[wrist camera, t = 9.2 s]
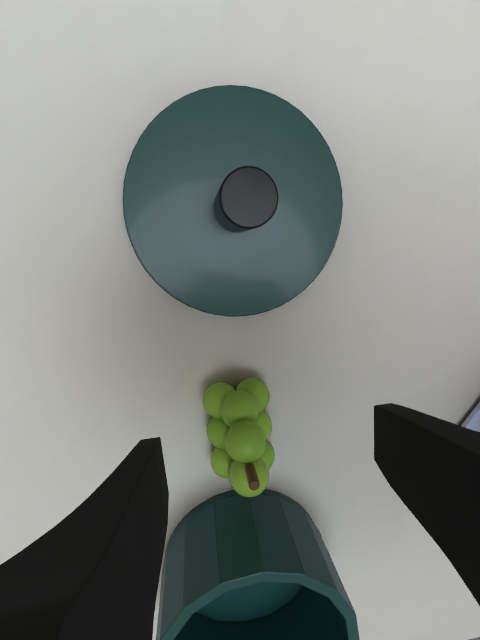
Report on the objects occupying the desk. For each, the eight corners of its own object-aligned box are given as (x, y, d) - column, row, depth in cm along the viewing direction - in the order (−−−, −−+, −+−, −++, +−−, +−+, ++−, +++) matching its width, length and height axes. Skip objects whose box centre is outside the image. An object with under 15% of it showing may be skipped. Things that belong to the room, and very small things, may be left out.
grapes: (271, 457, 22) (300, 533, 16) (211, 467, 22) (218, 549, 16) (264, 370, 21) (292, 419, 15) (200, 379, 21) (203, 433, 15)
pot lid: (373, 184, 20) (434, 164, 15) (259, 348, 21) (280, 381, 16) (204, 42, 17) (209, -40, 12) (85, 237, 18) (44, 234, 13)
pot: (348, 529, 24) (397, 618, 18) (262, 640, 25) (283, 758, 19) (222, 461, 22) (233, 540, 16) (133, 587, 23) (113, 703, 17)
